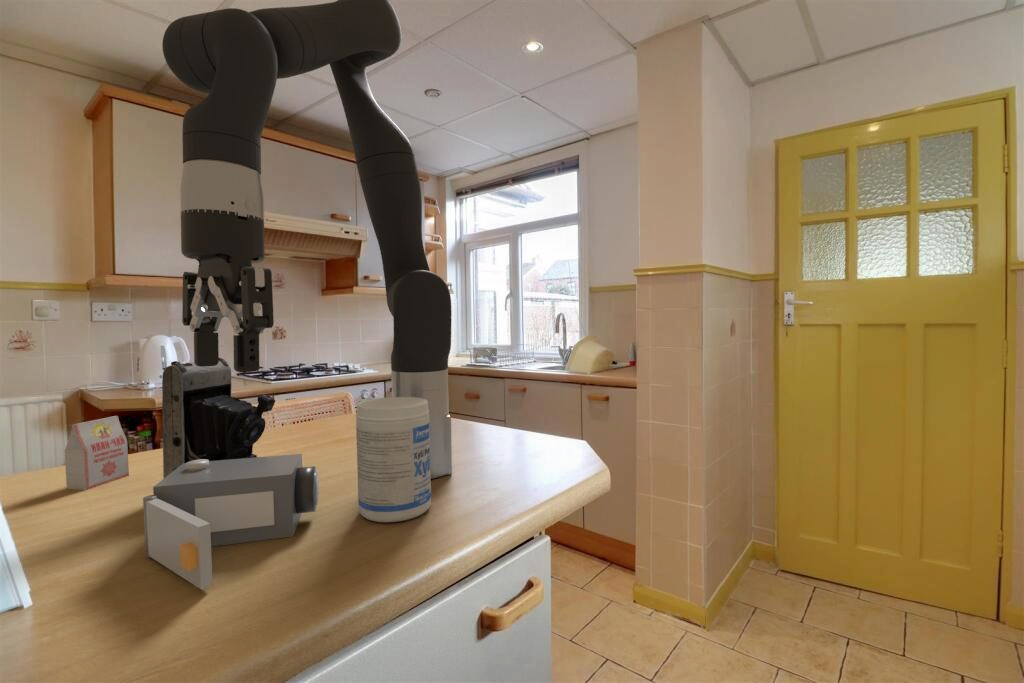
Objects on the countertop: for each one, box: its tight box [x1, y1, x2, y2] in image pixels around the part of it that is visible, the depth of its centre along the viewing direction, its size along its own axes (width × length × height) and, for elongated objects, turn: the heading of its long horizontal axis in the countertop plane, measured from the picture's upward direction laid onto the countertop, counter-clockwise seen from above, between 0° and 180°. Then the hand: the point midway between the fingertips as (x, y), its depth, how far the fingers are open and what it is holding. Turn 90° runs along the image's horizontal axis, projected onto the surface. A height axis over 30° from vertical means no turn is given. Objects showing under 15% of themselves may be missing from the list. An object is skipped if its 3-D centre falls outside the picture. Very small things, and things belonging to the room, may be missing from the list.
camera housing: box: [152, 453, 320, 548], centre depth 60 cm, size 16×9×8 cm, turn 106°
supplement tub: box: [355, 396, 432, 523], centre depth 65 cm, size 10×10×15 cm
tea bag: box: [64, 415, 130, 491], centre depth 77 cm, size 4×7×10 cm, turn 169°
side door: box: [142, 494, 214, 590], centre depth 49 cm, size 13×2×6 cm, turn 56°
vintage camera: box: [161, 357, 276, 479], centre depth 73 cm, size 10×16×20 cm, turn 78°
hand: (225, 368), depth 51 cm, fingers open, 8 cm apart
